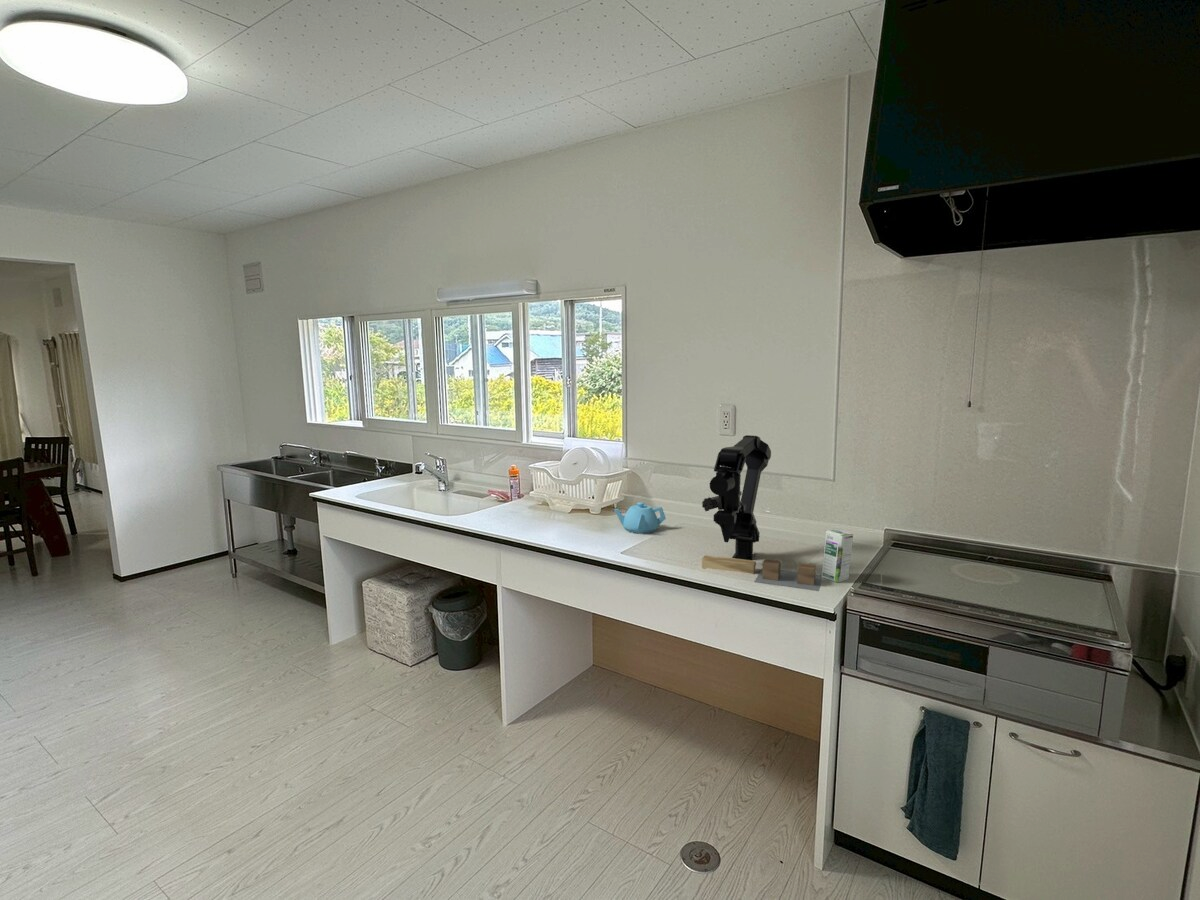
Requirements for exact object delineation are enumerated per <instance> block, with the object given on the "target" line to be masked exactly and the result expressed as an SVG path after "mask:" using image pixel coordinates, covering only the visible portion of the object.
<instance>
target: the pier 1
mask: <svg viewBox="0 0 1200 900" xmlns="http://www.w3.org/2000/svg"><path fill="white" fill-rule="evenodd" d="M781 561H782V560H781V559H775V558H764V560H763V562H762V568H763V575H762V579H767V580H775V581H778V580H779V577H780V570H781Z"/></svg>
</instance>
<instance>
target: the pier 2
mask: <svg viewBox="0 0 1200 900" xmlns="http://www.w3.org/2000/svg"><path fill="white" fill-rule="evenodd" d="M816 565H817V564H815V563H806V562H799V564H798V566H797V572H798V579H797V584H804V585H812V586H814V582H815V574H816V568H817V567H816Z"/></svg>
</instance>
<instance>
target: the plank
mask: <svg viewBox="0 0 1200 900" xmlns="http://www.w3.org/2000/svg"><path fill="white" fill-rule="evenodd" d="M756 565H757V562H756V560H744V559H735V558H732V557H726V556H725V557H724V556H718V555H717V556H716V555H708V554H705V555H704V556H703V557H702V559H701V569H704V570H706V569H709V570H710V569H711V570H719V571H728V572H733V573H734V572H736V573H745V574H752V575H754V574H755V572H756V569H757V568H756V567H757V566H756Z"/></svg>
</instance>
